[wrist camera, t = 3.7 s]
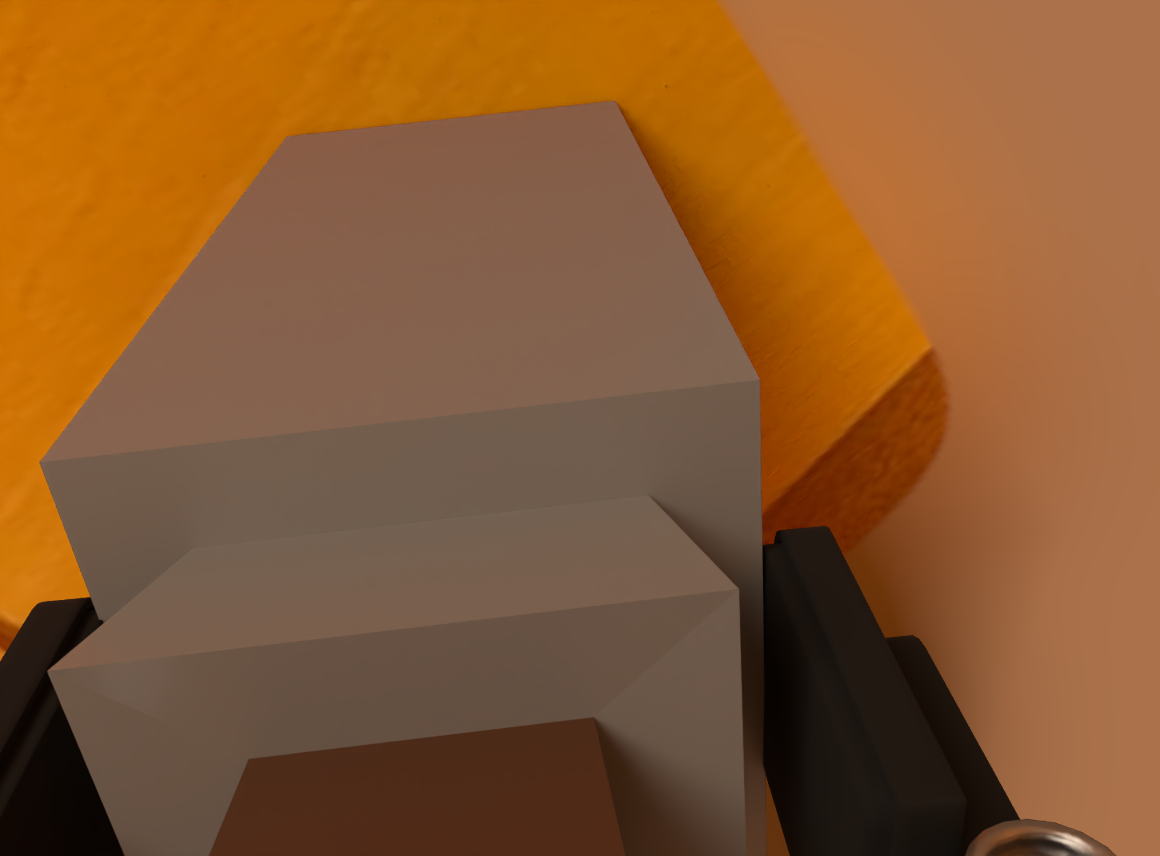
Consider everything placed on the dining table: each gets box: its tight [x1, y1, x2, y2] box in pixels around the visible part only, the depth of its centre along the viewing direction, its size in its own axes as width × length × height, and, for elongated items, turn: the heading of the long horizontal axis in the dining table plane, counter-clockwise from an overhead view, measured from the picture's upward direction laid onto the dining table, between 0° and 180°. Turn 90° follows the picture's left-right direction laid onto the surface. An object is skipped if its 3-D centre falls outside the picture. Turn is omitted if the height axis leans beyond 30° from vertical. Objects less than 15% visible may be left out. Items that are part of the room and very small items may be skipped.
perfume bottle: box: [40, 101, 767, 856], centre depth 16 cm, size 7×7×18 cm
